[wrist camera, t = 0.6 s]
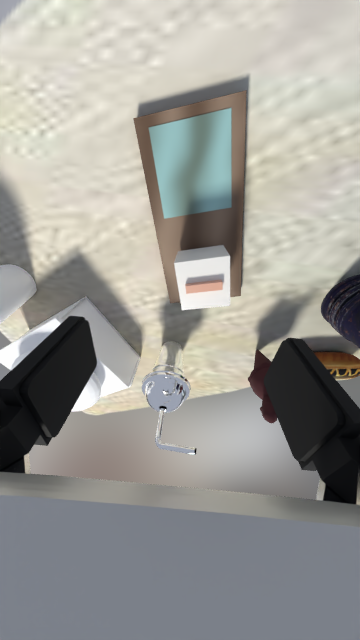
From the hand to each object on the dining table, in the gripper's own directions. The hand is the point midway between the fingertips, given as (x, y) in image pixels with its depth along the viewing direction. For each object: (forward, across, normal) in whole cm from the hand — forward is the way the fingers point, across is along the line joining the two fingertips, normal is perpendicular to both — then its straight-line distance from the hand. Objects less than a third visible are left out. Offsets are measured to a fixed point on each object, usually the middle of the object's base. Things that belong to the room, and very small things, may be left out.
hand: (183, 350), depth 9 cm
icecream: (+23, -17, +19) cm, 34 cm away
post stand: (+23, -1, -4) cm, 23 cm away
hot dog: (+23, -29, +19) cm, 42 cm away
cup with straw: (+24, +1, +21) cm, 32 cm away
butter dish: (+24, +20, +22) cm, 39 cm away
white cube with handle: (+21, -2, +2) cm, 21 cm away
